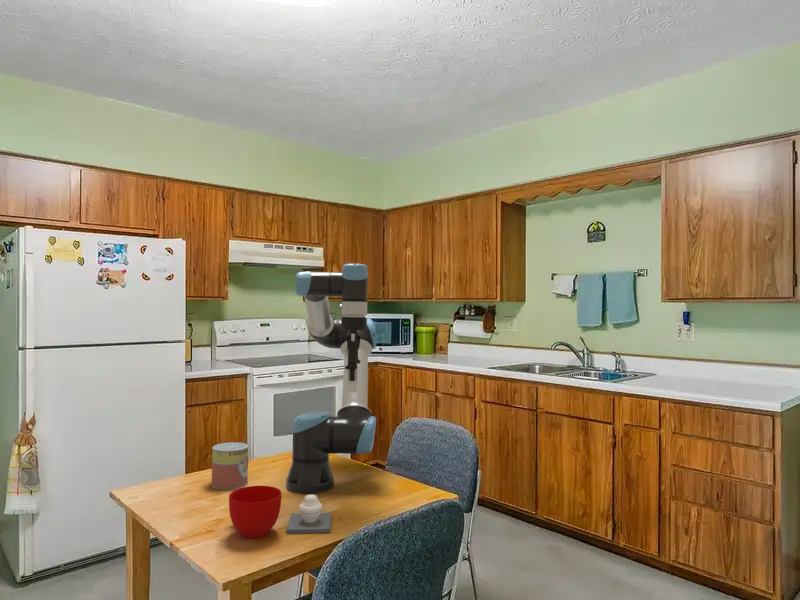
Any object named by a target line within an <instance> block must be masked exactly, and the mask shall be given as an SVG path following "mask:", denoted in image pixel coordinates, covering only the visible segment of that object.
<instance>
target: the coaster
mask: <svg viewBox="0 0 800 600" xmlns="http://www.w3.org/2000/svg"><path fill="white" fill-rule="evenodd" d="M332 515H333V513H332V512H321V513H320V515H319V517H318V519H317V520H316V522H314V523H306V522H304V520H303V518H302V516H301V514H300V512H292V513H290V515H289V519H288V523H287V526H286V530H285V533H286V534H289V535H290V534H330V533H331V527H330V526H331V524H332Z"/></svg>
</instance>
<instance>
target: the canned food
mask: <svg viewBox="0 0 800 600" xmlns="http://www.w3.org/2000/svg"><path fill="white" fill-rule="evenodd" d="M211 448H212V449H211V450H212V458H211V484H210V485H211V487H212V488H214V489H215V490H237V489H240V488H243V487H246V486H248V483H249V480H248V479H249V477H248V476H249V475H248V473H249V469H248V468H249V444H248V443H246V442H245V443H244V442H241V441H236V442H235V441H234V442H233V441H231V442H222V443H217V444H215V445H213V446H212V447H211Z"/></svg>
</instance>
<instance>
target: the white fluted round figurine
mask: <svg viewBox="0 0 800 600" xmlns="http://www.w3.org/2000/svg"><path fill="white" fill-rule="evenodd" d="M322 509H323V505H322V504H321V502H320V501H319V499H318V496H317V495H316V494H312V493H309V494H307V495H305V496H304V498H303V501H302V502H301V503H300V504H299V506H298V510H299V513H300V514H301V516H302V518H303V520H304V522H306V523H314V522H316V520H317V519H318V517H319V515H320V513H322Z"/></svg>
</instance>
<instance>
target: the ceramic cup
mask: <svg viewBox="0 0 800 600" xmlns="http://www.w3.org/2000/svg"><path fill="white" fill-rule="evenodd" d="M281 504H282V491H281V490H280V489H279V488H277V487H275V486H270V485H250V486H243V487H240V488H236V489H234V490H233V491H232V492H230V493H229V495H228V507H229V508H228V509H229V517H230V520H231V524H232V525H233V527H234V528H235V530H236V531H237V532H238V533H239V534H240V536H241V537H242V538H244V539H251V540H252V539H260V538H263V537H266V536H267V535H268V534H269V532H270V531H271V530H272V529H273V527H274V526H275V524H276V522H277V521H278V519H279V514H280V511H281V506H282V505H281Z"/></svg>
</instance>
